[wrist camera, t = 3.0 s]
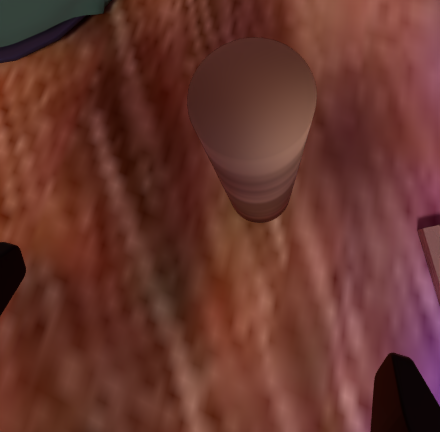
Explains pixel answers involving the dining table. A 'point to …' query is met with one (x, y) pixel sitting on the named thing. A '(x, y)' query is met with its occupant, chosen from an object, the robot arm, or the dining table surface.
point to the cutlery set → (39, 23)
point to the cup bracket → (432, 253)
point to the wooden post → (254, 121)
